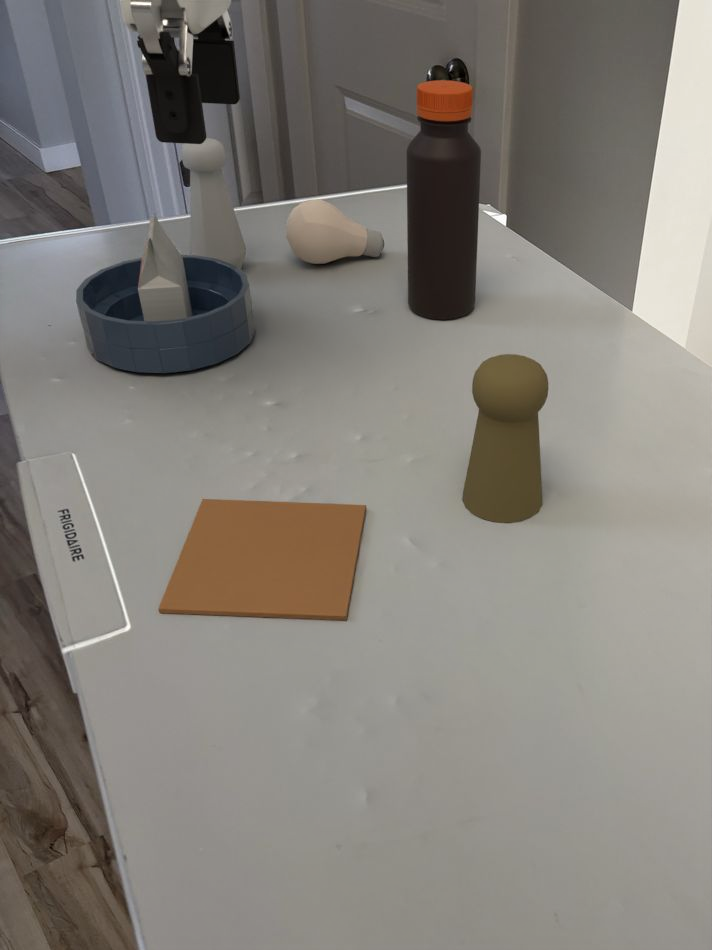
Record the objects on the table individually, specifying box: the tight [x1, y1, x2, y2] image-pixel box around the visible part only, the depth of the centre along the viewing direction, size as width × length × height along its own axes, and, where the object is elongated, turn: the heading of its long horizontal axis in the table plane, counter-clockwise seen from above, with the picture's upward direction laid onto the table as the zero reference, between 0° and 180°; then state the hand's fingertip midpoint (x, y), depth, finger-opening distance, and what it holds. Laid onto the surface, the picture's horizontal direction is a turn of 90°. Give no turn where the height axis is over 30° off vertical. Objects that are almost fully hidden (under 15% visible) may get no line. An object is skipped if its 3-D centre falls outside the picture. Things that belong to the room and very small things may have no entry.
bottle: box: [406, 79, 482, 321], centre depth 87 cm, size 7×7×20 cm
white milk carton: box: [138, 213, 193, 322], centre depth 84 cm, size 4×7×10 cm, turn 11°
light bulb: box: [285, 199, 385, 265], centre depth 101 cm, size 7×7×11 cm
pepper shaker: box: [461, 353, 549, 524], centre depth 66 cm, size 6×6×11 cm
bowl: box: [75, 254, 256, 374], centre depth 86 cm, size 15×15×5 cm
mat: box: [158, 498, 367, 621], centre depth 63 cm, size 12×12×1 cm
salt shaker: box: [181, 137, 247, 271], centre depth 95 cm, size 6×6×13 cm
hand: (201, 121), depth 65 cm, fingers open, 9 cm apart
